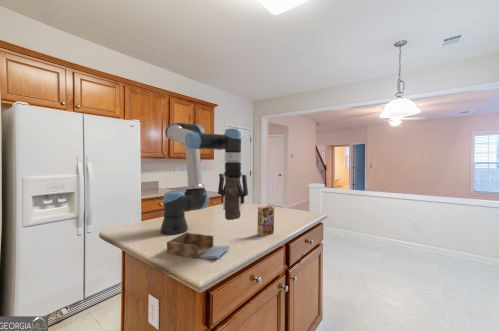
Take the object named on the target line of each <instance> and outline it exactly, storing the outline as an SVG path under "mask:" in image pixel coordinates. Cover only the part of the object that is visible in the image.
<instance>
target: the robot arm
mask: <svg viewBox="0 0 499 331" xmlns="http://www.w3.org/2000/svg"><path fill="white" fill-rule="evenodd" d="M164 134H165V137H166V138H167V139H168V140H170V141H172V142H179V143H181V144H182V146H183V147H184V148H185V161H186V174H187V187H186V188H185V190H184V189H175V190H174V189H173V190H169V191H167V192H165V193H164V194H163V201H162V203H163V220H162V223H161V226H160V233H161V234H163V235H179V234H180V235H181V234H184V233H186V232H187V231H188V230H189V228H188V225H189V224H188V223H187V220H186V216H185V212H191V211H197V210H202V209H203V210H204V209H205V208H206V207H207V206H208V205H209V203H210V202H209V201H210V194H209V192H208V190H207V189H206V188H205V186H204V185H203V180H202V178H203V177H202V166H201V151H200V150H217V151H222V150H224V161H225V163H224V173H220V174H219V175H218V176H219V180H218V181H219V182H218V188H217V195H220V196H221V203H223V204H222V206H223V209H222V210H223V211H225V183H224V182H225V177H229V178H240V179H242V180H241V181H242V183H241V182H240V183H238V182H237V183H238V191H239V194H240V197H239V211H240V212H241V211H243V205H244V204H245V197H247V196H249V190H248V189H249V188H248V181H247V179H248V175H247V174H246V173H245V174H243V173H242V171H241V170H242V162H241V161H242V131H241V129H240V128H226V129H225V132H224V134H218V133H205V130H204V128H203V127H202V125H200V124H195V123H185V122H184V123H183V122H173V123H171V124H168V125H167V126H166V128H165V131H164Z"/></svg>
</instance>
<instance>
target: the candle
mask: <svg viewBox="0 0 499 331" xmlns="http://www.w3.org/2000/svg"><path fill="white" fill-rule="evenodd" d="M224 182H225V183H224V186H225V210H224V216H225V220H227V221H234V220H238V219H240V218H241V211H239V197H240V194H239V191H238V183H241V177H240V178H229V177H226V176H225V177H224ZM237 182H238V183H237Z"/></svg>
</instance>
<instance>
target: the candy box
mask: <svg viewBox="0 0 499 331" xmlns="http://www.w3.org/2000/svg"><path fill="white" fill-rule="evenodd" d="M256 231H257V233H256V234H257V235H258V236H261V237H262V236H266V235H267V236H268V235H271V234H274V232H275V206H273V205H266V206H265V205H264V206H257V230H256Z"/></svg>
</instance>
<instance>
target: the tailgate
mask: <svg viewBox="0 0 499 331" xmlns="http://www.w3.org/2000/svg"><path fill="white" fill-rule="evenodd" d="M229 249H230V245H218V246H217V245H216V246H215V245H213V247H212V248H210V249H209V250H207V251H206V252H205V253H203V254H202V255H200V256H199V257H198V258H197V259H205V260H207V259H218V258H220V257H221V256H222V255H223V254H224V253H226V252H227V251H228V250H229Z"/></svg>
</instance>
